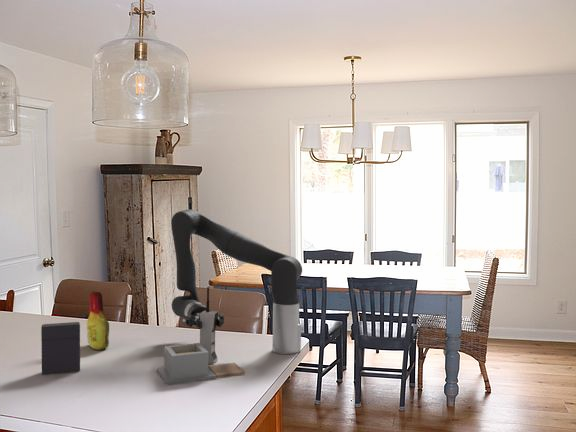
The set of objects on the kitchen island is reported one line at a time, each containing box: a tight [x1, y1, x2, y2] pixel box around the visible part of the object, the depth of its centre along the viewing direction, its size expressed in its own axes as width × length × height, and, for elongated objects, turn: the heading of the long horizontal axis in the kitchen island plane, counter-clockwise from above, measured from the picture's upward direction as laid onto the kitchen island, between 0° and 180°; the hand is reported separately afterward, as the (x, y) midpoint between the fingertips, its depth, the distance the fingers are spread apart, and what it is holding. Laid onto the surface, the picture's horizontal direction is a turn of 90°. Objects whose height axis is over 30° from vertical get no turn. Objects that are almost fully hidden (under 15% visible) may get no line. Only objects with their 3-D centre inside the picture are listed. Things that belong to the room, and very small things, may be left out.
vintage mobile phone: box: [199, 286, 219, 365], centre depth 190 cm, size 4×5×25 cm
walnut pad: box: [208, 362, 246, 379], centre depth 181 cm, size 9×10×1 cm
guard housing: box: [156, 342, 217, 386], centre depth 177 cm, size 15×14×8 cm
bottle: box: [86, 291, 110, 351], centre depth 205 cm, size 12×6×20 cm, turn 39°
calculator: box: [40, 321, 81, 376], centre depth 178 cm, size 11×4×15 cm, turn 111°
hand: (210, 324), depth 187 cm, fingers closed on vintage mobile phone, 6 cm apart
